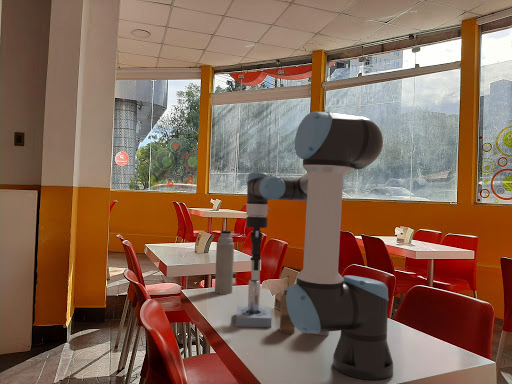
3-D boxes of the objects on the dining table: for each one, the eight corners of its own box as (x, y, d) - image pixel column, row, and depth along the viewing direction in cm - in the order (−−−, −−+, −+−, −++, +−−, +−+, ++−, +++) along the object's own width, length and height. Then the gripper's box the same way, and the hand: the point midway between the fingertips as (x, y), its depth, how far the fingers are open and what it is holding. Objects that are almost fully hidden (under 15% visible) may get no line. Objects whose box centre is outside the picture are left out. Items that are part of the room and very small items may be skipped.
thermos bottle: (227, 289, 189) (229, 230, 190) (235, 293, 182) (237, 231, 183) (211, 290, 185) (214, 230, 186) (219, 294, 178) (221, 231, 179)
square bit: (294, 333, 130) (295, 290, 130) (280, 332, 130) (282, 290, 130) (292, 328, 134) (294, 288, 135) (279, 328, 134) (281, 287, 135)
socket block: (271, 327, 135) (271, 318, 135) (235, 326, 135) (235, 317, 135) (268, 315, 149) (269, 307, 149) (236, 314, 149) (237, 306, 149)
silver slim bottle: (258, 322, 140) (260, 277, 140) (247, 322, 140) (249, 277, 140) (258, 318, 144) (260, 275, 144) (247, 318, 144) (248, 275, 144)
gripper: (269, 217, 130) (267, 283, 129) (265, 215, 155) (264, 271, 154) (246, 216, 130) (244, 282, 129) (246, 215, 155) (244, 270, 154)
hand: (255, 276), depth 142 cm, fingers open, 13 cm apart
